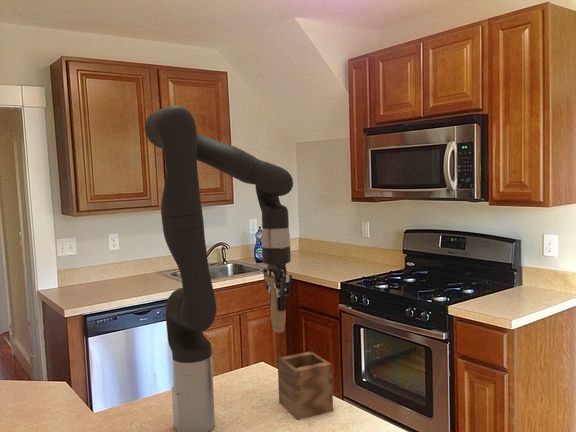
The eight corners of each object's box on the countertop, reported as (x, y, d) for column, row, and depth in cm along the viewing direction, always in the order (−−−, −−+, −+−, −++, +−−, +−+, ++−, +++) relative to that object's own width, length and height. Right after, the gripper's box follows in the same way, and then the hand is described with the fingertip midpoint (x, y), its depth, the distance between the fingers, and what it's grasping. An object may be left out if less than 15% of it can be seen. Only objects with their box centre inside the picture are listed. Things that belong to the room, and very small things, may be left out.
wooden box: (297, 419, 123) (295, 371, 122) (279, 402, 133) (277, 357, 132) (333, 410, 127) (331, 364, 126) (312, 394, 137) (311, 351, 136)
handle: (267, 329, 137) (265, 274, 137) (290, 328, 137) (289, 274, 136) (266, 334, 133) (264, 278, 132) (290, 334, 133) (288, 277, 132)
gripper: (252, 243, 138) (254, 305, 139) (274, 248, 125) (276, 317, 127) (277, 241, 141) (279, 301, 143) (300, 246, 129) (302, 312, 130)
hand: (278, 308), depth 135 cm, fingers closed on handle, 4 cm apart
